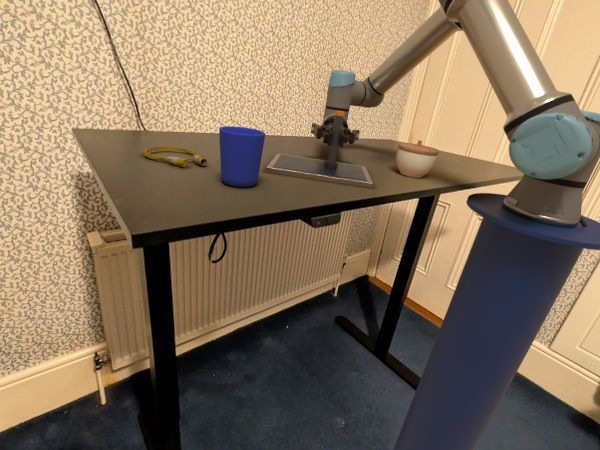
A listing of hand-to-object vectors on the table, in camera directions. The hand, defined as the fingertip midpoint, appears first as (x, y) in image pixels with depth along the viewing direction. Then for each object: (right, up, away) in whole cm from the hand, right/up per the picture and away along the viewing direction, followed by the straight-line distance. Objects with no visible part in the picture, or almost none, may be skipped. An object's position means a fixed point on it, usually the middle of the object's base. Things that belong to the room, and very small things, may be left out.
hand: (336, 140), depth 72 cm
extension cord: (-36, -4, +1) cm, 36 cm away
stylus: (0, -4, +8) cm, 9 cm away
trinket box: (+23, -5, +19) cm, 30 cm away
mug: (-21, -10, -8) cm, 24 cm away
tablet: (-3, -5, +8) cm, 10 cm away
